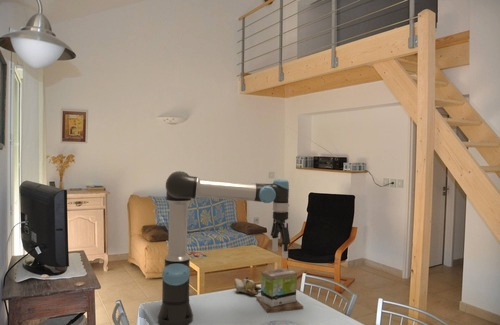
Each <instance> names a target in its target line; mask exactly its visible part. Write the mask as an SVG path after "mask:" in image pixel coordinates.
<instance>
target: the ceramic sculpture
mask: <svg viewBox="0 0 500 325" xmlns="http://www.w3.org/2000/svg"><path fill="white" fill-rule="evenodd" d="M234 287H235V291H236V293H237V294H238V293H243V294H244V293H245V294H248V295H250V296H257V295H259V292H258V291H261V286H258V285H257V284H256V282H255V281H254V280H253V279H249V277H244V278H243V279H239V278H236V277H235V278H234Z"/></svg>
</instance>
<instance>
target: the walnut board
mask: <svg viewBox="0 0 500 325" xmlns="http://www.w3.org/2000/svg"><path fill="white" fill-rule="evenodd" d="M260 298H261V296H256V302H257V303H258V304H259V305H260V306H261V307H262V309H263V310H265V312H266V313H267V314H268V313H277V312H286V311H287V312H289V311H296V310H297V311H298V310H304V305H303V304H302V303H300V302H299V301H298V300H297V299H296V301H295V302H291V303H286V304H282V305H277V306H274V307H271V306H269V305H267V304H265V303H263V302H262V301H260Z"/></svg>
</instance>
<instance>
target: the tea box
mask: <svg viewBox="0 0 500 325" xmlns="http://www.w3.org/2000/svg"><path fill="white" fill-rule="evenodd" d="M260 276H261V277H260V278H261V280H260V288H261V290H260V297H261V298H260V301H262V302H263V303H265V304H267V305H269V306H271V307H274V306H277V305H282V304H286V303H291V302H295V301H296V300H297V282H298V278H297V277H298V272H296V271H294V270H291V269H289V268H286V267H283V268H277V269H276V268H275V269H272V270H271V269H270V270H263V271H261V275H260Z"/></svg>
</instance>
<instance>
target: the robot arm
mask: <svg viewBox="0 0 500 325" xmlns="http://www.w3.org/2000/svg"><path fill="white" fill-rule="evenodd" d="M165 190H166V194H165V197H166V199H165V201H166V202H167V203H168V204H169V205H168V206H169V207H168V208H169V210H168V211H169V212H168V213H169V214H168V216H169V217H168V241H167V242H168V245H167V246H168V247H167V248H168V250H167V252H168V253H167V255H166V256H165V257H164V268H163V269H162V275H161V277H162V290H161V292H162V297H161V298H162V299H161V300H162V302H161V306H160V309H159V311H158V314H157V323H158V324H159V325H189V324H191V323H192V322H193V320H194V314H193V310H192V308H191V304H190V277H191V270H190V269H191V268H190V263H191V261H190V256H189V255H188V254H187V252H188V250H187V249H188V216H189V215H188V214H189V211H188V210H189V208H188V207H189V204H190V202H191V201H192V199H197V198H210V199H211V198H213V199H224V200H239V201H249V202H256V203H257V202H259V203H264V204H271V203H272V211H273V212H272V219H273V222H272V228H271V232H270V236H271V238H272V239H271V240H272V241H271V242H272V244H271V245H272V248H271V249H272V250H271V251H272V252H278V251H279V233H280V236H281V240H282V243H281V258H282V259H288V258H289V245H290V244H291V239H290V232H289V223H288V222H286V220H289V212H288V211H289V207H290V204H289V198H290V197H289V196H290V193H289V192H290V182H289V181H288V180H287V179H274V180H273V182H272V183H257V182H256V183H241V182H231V181H218V180H208V179H200V178H199V177H198V176H192V175H189V174H188V172H185V171H180V170H179V171H175V172H172V173H171V174H169V175H168V177H167V179H166V181H165Z"/></svg>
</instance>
